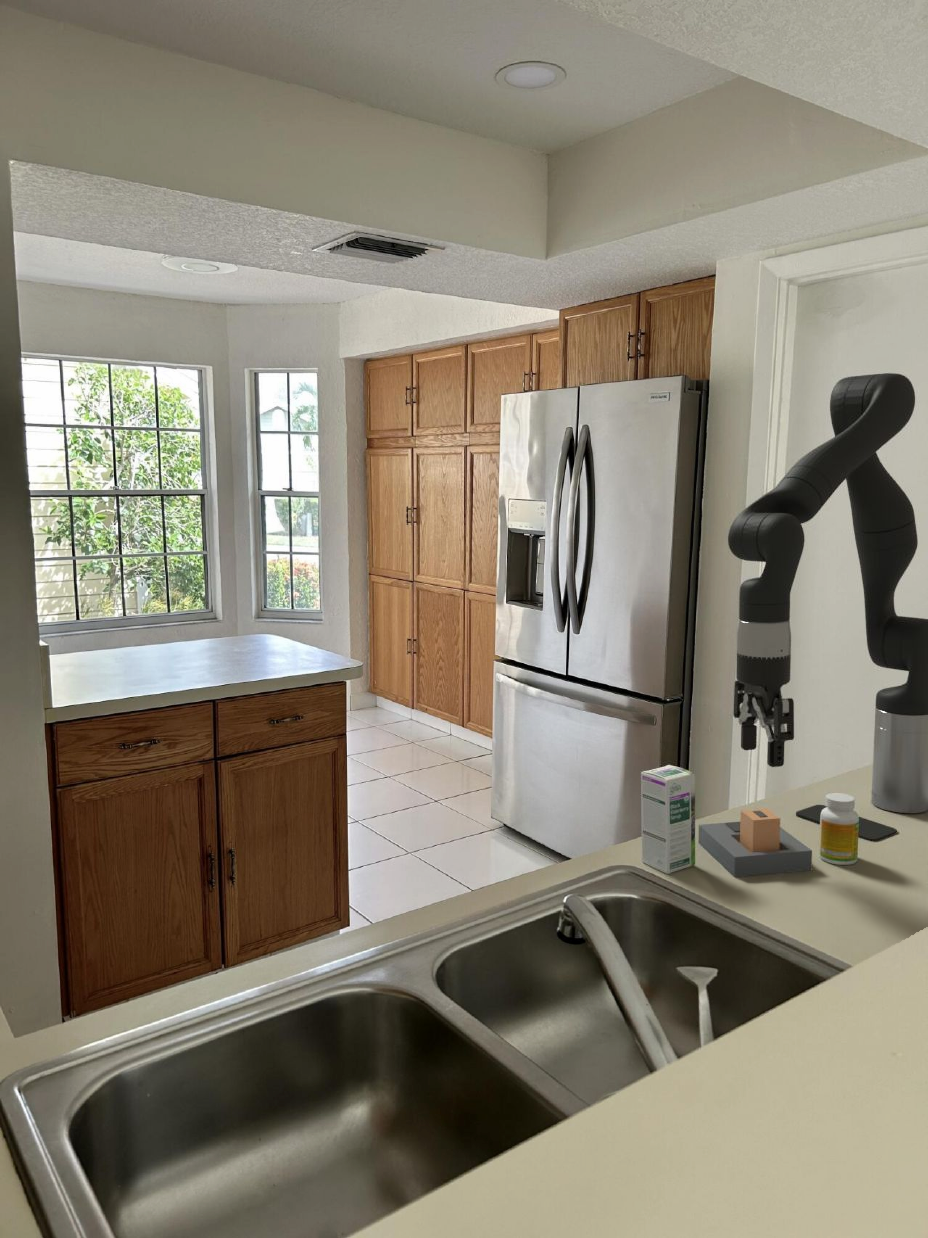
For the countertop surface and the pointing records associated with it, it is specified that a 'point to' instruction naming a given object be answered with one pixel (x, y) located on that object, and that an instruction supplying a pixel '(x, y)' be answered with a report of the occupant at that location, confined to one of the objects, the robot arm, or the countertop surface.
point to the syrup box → (668, 818)
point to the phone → (866, 827)
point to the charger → (759, 830)
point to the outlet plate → (741, 862)
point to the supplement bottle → (839, 830)
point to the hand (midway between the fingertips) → (761, 757)
